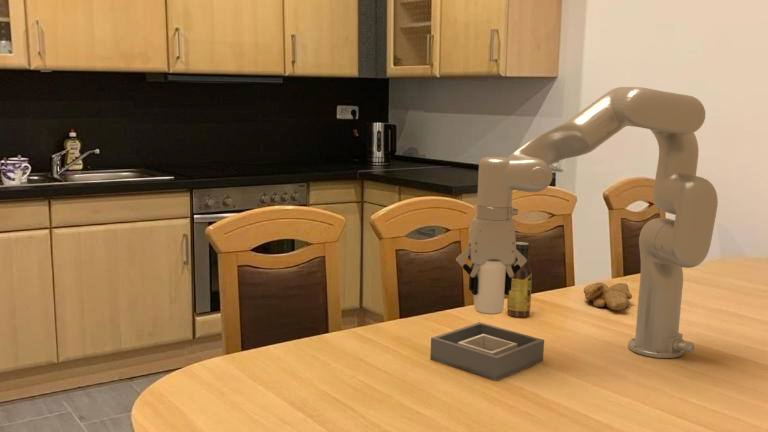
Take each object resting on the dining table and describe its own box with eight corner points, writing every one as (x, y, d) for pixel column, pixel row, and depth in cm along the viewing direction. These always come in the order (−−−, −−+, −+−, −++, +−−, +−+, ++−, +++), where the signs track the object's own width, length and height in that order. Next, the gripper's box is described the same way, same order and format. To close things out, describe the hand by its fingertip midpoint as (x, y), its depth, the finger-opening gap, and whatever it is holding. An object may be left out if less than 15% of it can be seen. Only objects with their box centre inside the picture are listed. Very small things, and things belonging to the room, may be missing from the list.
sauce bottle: (531, 318, 211) (535, 246, 208) (508, 318, 211) (512, 245, 208) (527, 312, 217) (531, 241, 214) (505, 311, 217) (508, 240, 214)
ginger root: (590, 290, 238) (597, 266, 235) (639, 312, 229) (647, 288, 226) (566, 302, 226) (573, 277, 223) (616, 326, 217) (625, 300, 214)
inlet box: (542, 361, 178) (544, 339, 177) (495, 381, 165) (497, 358, 164) (478, 342, 190) (479, 322, 189) (430, 359, 177) (431, 337, 176)
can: (502, 316, 172) (505, 262, 170) (472, 313, 173) (475, 260, 171) (504, 308, 178) (507, 256, 176) (475, 305, 179) (478, 254, 177)
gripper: (527, 211, 177) (522, 289, 179) (451, 210, 175) (448, 289, 178) (537, 217, 169) (532, 298, 172) (458, 216, 167) (454, 298, 170)
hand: (489, 292), depth 175 cm, fingers closed on can, 6 cm apart
